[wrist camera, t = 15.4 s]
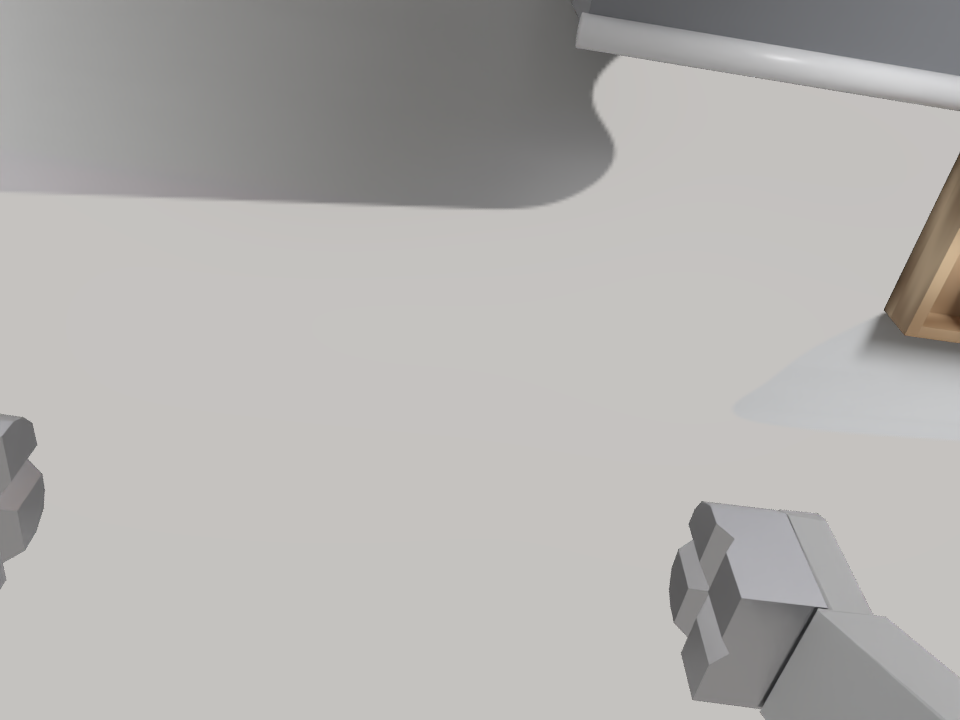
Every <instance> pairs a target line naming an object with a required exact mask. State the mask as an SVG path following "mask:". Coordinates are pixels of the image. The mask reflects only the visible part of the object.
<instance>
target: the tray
mask: <svg viewBox="0 0 960 720" xmlns="http://www.w3.org/2000/svg"><path fill="white" fill-rule="evenodd" d="M884 311H885V312H886V313H887V314H888V316H889V317H890V318H891V319H892V321H893V322H894V323H895V324H896V325H897V327H898V328H899V329H900V330H901V332H902V333H903V334H904V335H905V336H912V337H919V338H926V339H933V340H940V341H947V342H955V343H960V154H959V156H958V158H957V160H956V162H955V164H954V166H953V168H952V170H951V172H950V174H949V176H948V178H947V180H946V183H945V184H944V186H943V189H942V191H941V193H940V195H939V197H938V199H937V201H936V203H935V205H934V207H933V209H932V211H931V213H930V215H929V217H928V220H927V222H926V224H925V226H924V228H923V230H922V232H921V234H920V236H919V238H918V240H917V242H916V244H915V247H914V248H913V251H912V253H911V255H910V257H909V259H908V261H907V263H906V265H905V267H904V269H903V271H902V273H901V275H900V277H899V280H898V281H897V284H896V286H895V288H894V290H893V292H892V294H891V296H890V298H889V300H888V302H887V304H886V306H885V308H884Z"/></svg>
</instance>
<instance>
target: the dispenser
mask: <svg viewBox="0 0 960 720" xmlns="http://www.w3.org/2000/svg"><path fill="white" fill-rule="evenodd" d="M572 5H573V7H574V9H575V11H576V13H577V16H578V18H579V24H578V29H577V35H576V48H580V49H586V50H592V51H598V52H604V53H610V54H616V55H622V56H628V57H635V58H641V59H647V60H652V61H659V62H665V63H671V64H677V65H683V66H689V67H695V68H701V69H707V70H713V71H719V72H726V73H731V74H738V75H744V76H749V77H756V78H762V79H768V80H774V81H780V82H786V83H792V84H798V85H804V86H811V87H816V88H823V89H828V90H834V91H841V92H846V93H853V94H859V95H866V96H871V97H877V98H883V99H889V100H895V101H902V102H907V103H914V104H919V105H925V106H931V107H938V108H943V109H949V110H956V111H960V0H572Z"/></svg>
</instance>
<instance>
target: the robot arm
mask: <svg viewBox="0 0 960 720" xmlns="http://www.w3.org/2000/svg"><path fill="white" fill-rule="evenodd" d="M36 446H37V442H36V437H35V433H34V428H33V424H32V423H31V422H30V421H28V420H27V419H25V418H23V417H17V416H11V415H4V414H0V589H1V587H2V586H3V584H4V582H5V581H6V576H5V572H4V567H3V563H4V562H5V561H7V560H9V559H11V558H13V557H14V556H16V555H18V554H20V553H21V552H23V551H25V549H26V548H27V546H28V544H29V543H30V541H31V539H32V538H33V536H34V534H35V533H36V530H37V527H38V524H39V521H40V518H41V515H42V512H43V508H44V492H45V489H44V483H43V476H42V473H41V472H40V471H39V470H38V469H37V468H36V467H35V466H34V465H33V464H32V463H31V462H30V461H29V460H28V457H29V456H30V454H31V453H32V452H33V450H34V449H35V447H36ZM689 527H690V530H691V534H692V538H693V540H692V541H690V542H689V543H687V544H686V545H684V546H683V547H681V548H680V549H678V552H677V555H676V558H675V560H674V563H673V566H672V571H671V578H670V587H669V593H670V607H671V611H672V615H673V621H674V623H675V624H676V625H677V626H678V628H680V630H681V631H682V632H683V633H684V634H685V635H686V636H687V637H688V638H687V641H686V643H685V645H684V647H683V650H682V652H681V655H682V659H683V663H684V667H685V671H686V675H687V679H688V683H689V688H690V691H691V696H692V700H697V701H704V702H712V703H719V704H726V705H734V706H742V707H749V708H758V709H761V711H760V713H761V715H762V716H763V717H764V718H765V720H960V677H959V676H957V675H956V674H955V673H954V672H953V671H951V670H950V669H949V668H948V667H946V666H945V665H944V664H943V663H942V662H940V661H939V660H938V659H937V658H935V657H934V656H933V655H932V654H931V653H929V652H928V651H927V650H926V649H924V648H923V647H922V646H921V645H920V644H918V643H917V642H916V641H915V640H913V639H912V638H911V637H910V636H908V635H907V634H906V633H905V632H904V631H902V630H901V629H900V628H899V627H897V626H896V625H895V624H894V623H893V622H891V621H890V620H889V619H888V618H886V617H884V616H877V615H873V613H872V611H871V609H870V607H869V605H868V603H867V601H866V599H865V597H864V595H863V593H862V591H861V589H860V587H859V585H858V583H857V581H856V579H855V577H854V575H853V573H852V571H851V569H850V567H849V565H848V563H847V561H846V559H845V557H844V555H843V553H842V551H841V549H840V547H839V545H838V543H837V541H836V539H835V537H834V535H833V533H832V531H831V529H830V527H829V525H828V523H827V521H826V520H825V519H824V518H823V517H822V516H821V515H819V514H818V513H808V512H798V511H789V510H778V511H777V510H772V509H763V508H755V507H746V506H737V505H729V504H721V503H712V502H703V501H702V502H701V503H700V504H699V505H698V506H697V507H696V509H695V510H694V513H693V515H692V517H691V520H690V522H689Z"/></svg>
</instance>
